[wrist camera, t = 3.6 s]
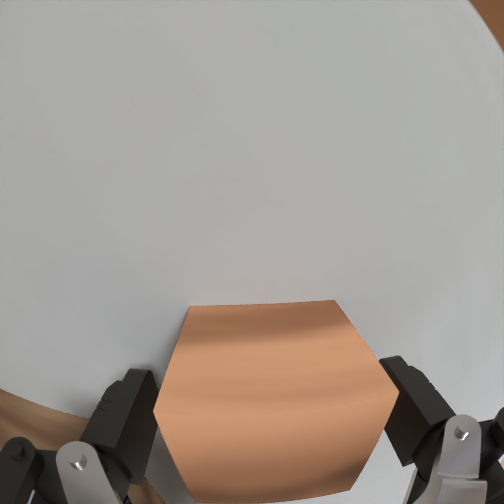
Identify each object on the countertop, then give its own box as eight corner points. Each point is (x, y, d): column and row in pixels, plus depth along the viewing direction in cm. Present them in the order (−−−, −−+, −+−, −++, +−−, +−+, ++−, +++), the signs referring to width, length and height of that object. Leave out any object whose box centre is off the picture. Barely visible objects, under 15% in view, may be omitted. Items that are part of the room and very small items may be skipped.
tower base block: (-22, 374, 11) (-52, 407, 6) (113, 419, 11) (84, 489, 6) (51, 473, 15) (37, 504, 10) (172, 508, 15) (167, 550, 10)
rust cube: (190, 304, 9) (153, 411, 4) (333, 298, 9) (399, 392, 5) (206, 405, 11) (195, 502, 6) (319, 398, 11) (349, 490, 6)
